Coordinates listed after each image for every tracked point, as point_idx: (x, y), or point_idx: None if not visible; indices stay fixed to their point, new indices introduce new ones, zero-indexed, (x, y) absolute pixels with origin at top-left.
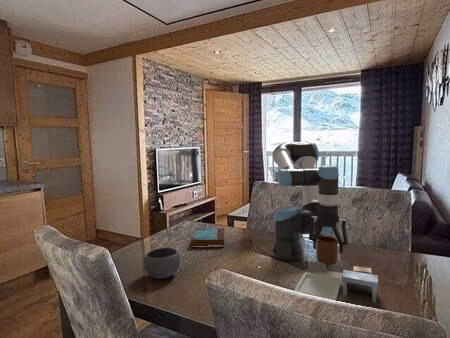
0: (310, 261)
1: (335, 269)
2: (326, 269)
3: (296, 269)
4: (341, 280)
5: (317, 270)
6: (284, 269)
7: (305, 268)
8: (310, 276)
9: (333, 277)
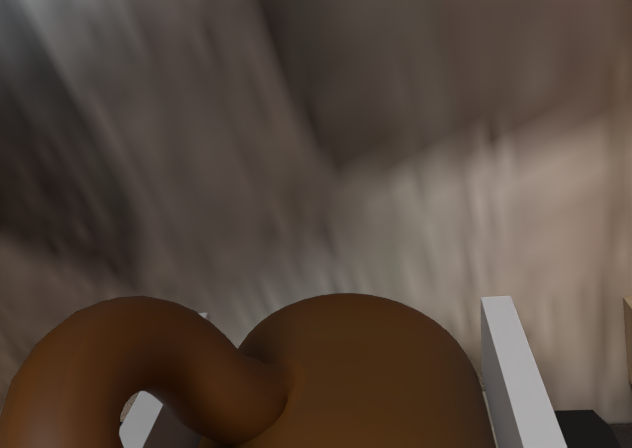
0: (66, 19)
1: (405, 103)
2: (314, 157)
3: (78, 299)
4: None
5: (244, 228)
6: (5, 343)
7: (128, 240)
8: None
9: None
